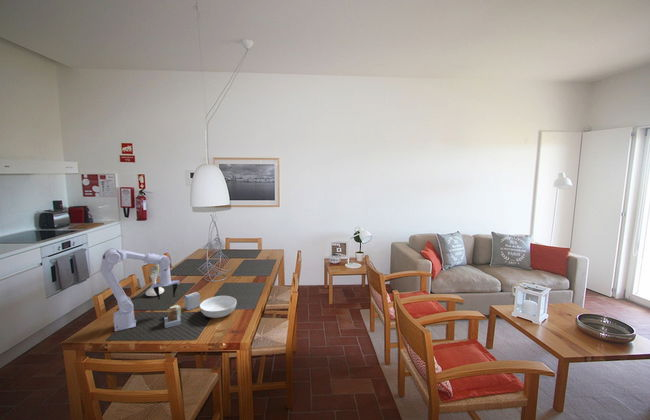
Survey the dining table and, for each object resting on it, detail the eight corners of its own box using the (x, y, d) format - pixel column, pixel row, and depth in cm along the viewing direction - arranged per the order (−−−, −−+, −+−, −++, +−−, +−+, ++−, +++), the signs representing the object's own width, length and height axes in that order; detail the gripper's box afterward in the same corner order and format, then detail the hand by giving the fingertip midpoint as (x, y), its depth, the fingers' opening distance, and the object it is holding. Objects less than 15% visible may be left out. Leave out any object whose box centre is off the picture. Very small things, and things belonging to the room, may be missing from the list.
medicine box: (197, 304, 191) (196, 291, 190) (200, 306, 188) (199, 293, 187) (184, 308, 185) (184, 295, 184) (188, 310, 182) (187, 297, 181)
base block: (165, 329, 163) (164, 323, 162) (164, 322, 169) (164, 317, 169) (181, 325, 166) (180, 320, 166) (180, 319, 173) (179, 314, 173)
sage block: (173, 318, 173) (172, 309, 172) (170, 316, 176) (169, 307, 175) (181, 315, 176) (180, 306, 176) (177, 313, 179) (177, 304, 178)
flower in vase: (154, 298, 198) (151, 262, 195) (141, 296, 202) (138, 261, 198) (170, 291, 210) (167, 257, 207) (157, 289, 214) (155, 255, 210)
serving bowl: (221, 325, 166) (221, 313, 165) (192, 318, 173) (191, 307, 172) (244, 308, 185) (243, 298, 184) (216, 303, 192) (216, 293, 191)
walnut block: (168, 321, 164) (167, 312, 164) (167, 318, 168) (167, 309, 167) (177, 319, 167) (176, 310, 166) (176, 316, 171) (176, 307, 170)
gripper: (150, 280, 168) (152, 302, 170) (179, 275, 175) (180, 297, 177) (150, 276, 174) (152, 298, 176) (178, 272, 181) (179, 293, 183)
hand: (166, 297), depth 177 cm, fingers open, 7 cm apart
